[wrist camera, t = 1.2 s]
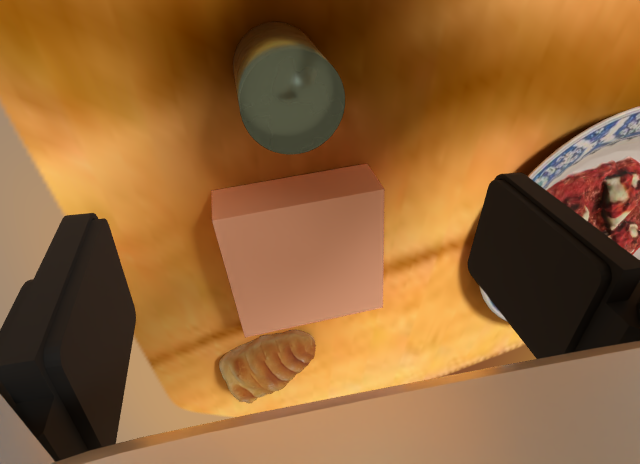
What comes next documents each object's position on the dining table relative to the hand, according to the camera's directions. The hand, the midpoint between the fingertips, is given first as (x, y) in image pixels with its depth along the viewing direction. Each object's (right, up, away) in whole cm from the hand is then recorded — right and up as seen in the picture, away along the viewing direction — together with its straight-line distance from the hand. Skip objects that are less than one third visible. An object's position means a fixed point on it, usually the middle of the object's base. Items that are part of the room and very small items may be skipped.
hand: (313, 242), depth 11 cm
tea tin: (-3, +11, +17) cm, 20 cm away
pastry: (-6, -12, +33) cm, 36 cm away
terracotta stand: (-2, 0, +25) cm, 26 cm away
